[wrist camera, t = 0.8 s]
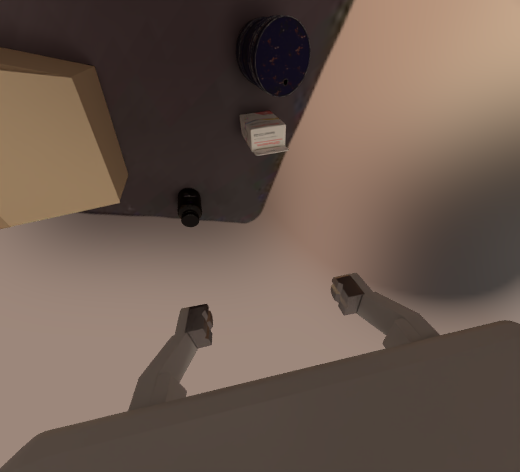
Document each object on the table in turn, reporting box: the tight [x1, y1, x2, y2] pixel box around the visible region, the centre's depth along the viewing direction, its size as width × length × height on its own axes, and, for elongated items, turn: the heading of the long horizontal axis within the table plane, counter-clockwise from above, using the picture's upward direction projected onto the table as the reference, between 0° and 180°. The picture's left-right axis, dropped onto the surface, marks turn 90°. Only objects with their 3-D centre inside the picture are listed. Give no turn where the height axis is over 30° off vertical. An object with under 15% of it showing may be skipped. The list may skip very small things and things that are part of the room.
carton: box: [0, 47, 128, 201], centre depth 35 cm, size 22×18×12 cm
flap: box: [0, 69, 120, 229], centre depth 29 cm, size 22×18×1 cm
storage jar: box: [236, 15, 310, 97], centre depth 35 cm, size 10×10×15 cm
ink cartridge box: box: [239, 111, 289, 156], centre depth 45 cm, size 9×5×15 cm, turn 93°
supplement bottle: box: [178, 189, 202, 227], centre depth 56 cm, size 7×7×12 cm
